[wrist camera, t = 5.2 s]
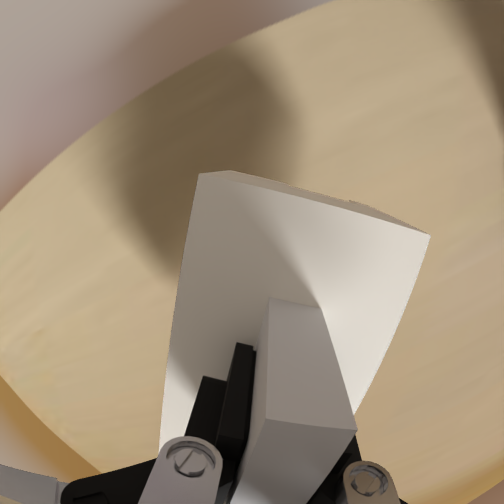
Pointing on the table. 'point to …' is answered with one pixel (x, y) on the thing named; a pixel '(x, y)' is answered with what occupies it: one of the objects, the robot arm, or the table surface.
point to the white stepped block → (286, 320)
